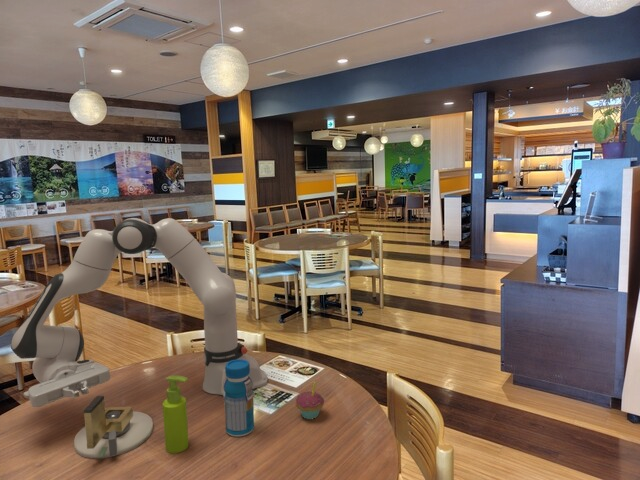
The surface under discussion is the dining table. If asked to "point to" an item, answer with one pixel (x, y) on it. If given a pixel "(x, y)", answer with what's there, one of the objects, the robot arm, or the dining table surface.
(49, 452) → the dining table surface
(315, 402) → the cupcake
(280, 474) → the dining table surface
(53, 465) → the dining table surface
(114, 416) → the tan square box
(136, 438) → the plate
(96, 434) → the tan piece
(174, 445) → the soap dispenser
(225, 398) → the beverage bottle
